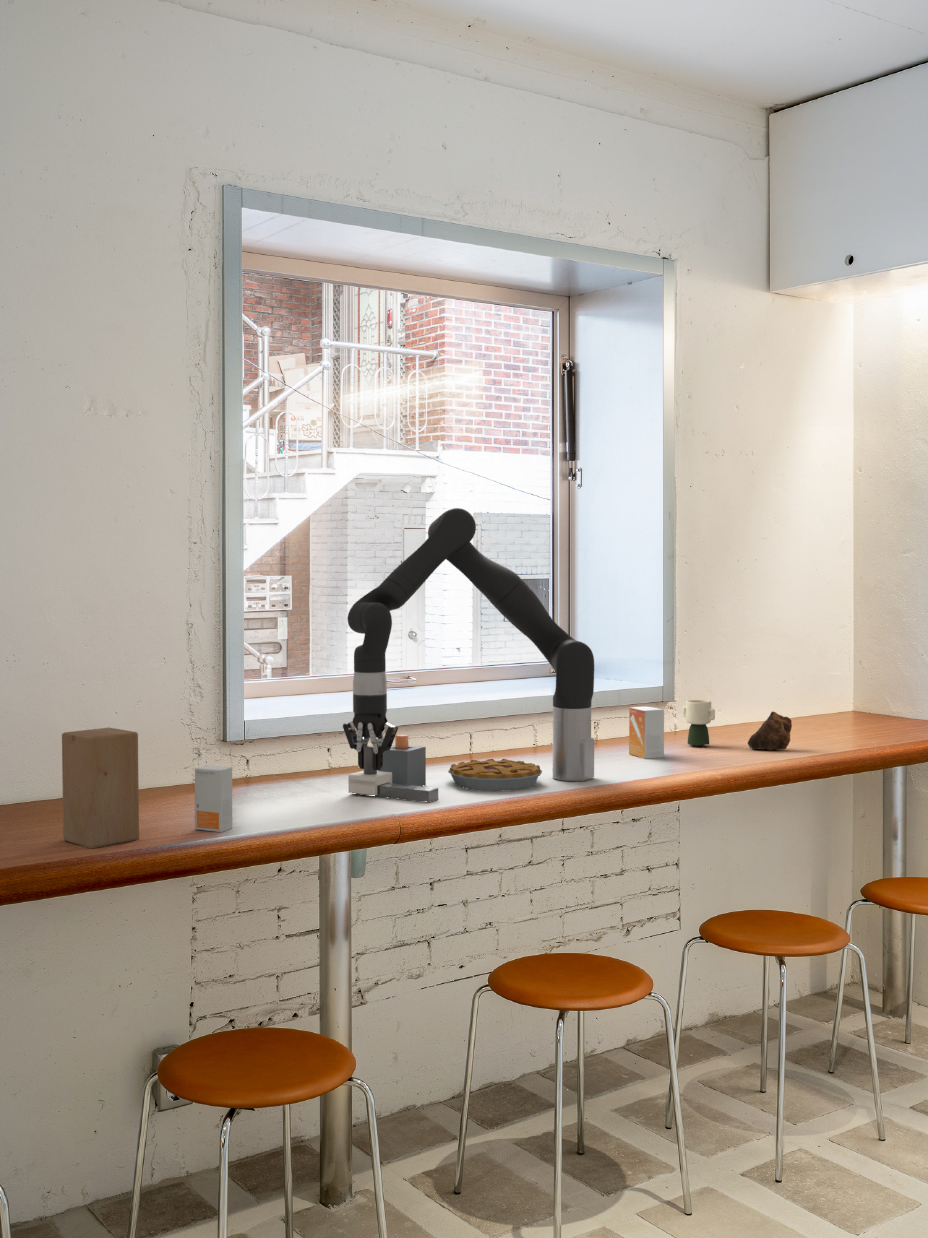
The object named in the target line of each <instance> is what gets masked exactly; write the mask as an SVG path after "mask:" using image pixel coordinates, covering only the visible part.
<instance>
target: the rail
mask: <svg viewBox="0 0 928 1238" xmlns="http://www.w3.org/2000/svg"><path fill="white" fill-rule="evenodd" d="M357 794H358V793H356V794H355V795H357ZM366 795H367V794H362V795H361V796H366ZM375 796H379V797H378V798H384V797H388V798H387V799H392V798H399V799H398V800H401V799H406V800H405V801H410V800H415V801H414V802H419V801H427V802H426V803H428V802H429V803H431V802H430V801H432V802H434V801H433V800H435V801H437V799H438V800H439V787H432V786H415V785H405V784H395V783H384V784H381V785H378V786H377V795H375ZM375 796H374V797H375Z"/></svg>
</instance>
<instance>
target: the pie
mask: <svg viewBox="0 0 928 1238" xmlns="http://www.w3.org/2000/svg"><path fill="white" fill-rule="evenodd" d="M447 772H448V774H450V775H451V778H452V779H453V782H454V784H455V785H457V786H458V787H459V786H460V788H463V787H464V788H463V789H466V788H468V789H467V790H471V789H473V791H478V790H483V791H482V792H503V791H502V790H510V791H518V790H524V789H525V790H526V789H529V788H533V787H535V786H536V784H537V780H538V778H539V776H541V774H542V773H543V770H542V769H541V766H540V765H538V764H537V765H536V764H535V763H532V762H528V763H527V762H525V761H523V760H517V761H515V760H512V759H506V758H503V759H501V760H495V759H493V758H490V759H486V760H478V759H477V760H476V759H471V760H469V761H467V762H465V761H461V762H458V763H457V764H455V763H454V764H451V765H450V767H449V770H448V771H447Z"/></svg>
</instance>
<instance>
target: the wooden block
mask: <svg viewBox="0 0 928 1238" xmlns="http://www.w3.org/2000/svg"><path fill="white" fill-rule="evenodd" d="M138 733H139V732H137V731H131V730H127V729H126V730H125V729H120V728H113V727H102V728H93V729H84V730H74V731H65V732H62V734H61V757H62V758H61V765H62V769H61V772H62V777H61V779H62V830H63V831H62V834H63V835H62V836H63V837H62V838H63V841H66V842H69V843H72V844H75V845H79V846H81V847H86V848H88V849H97V848H101V847H108V846H111V845H116V844H117V845H118V844H122V843H129V842H131V841H137V840H139V839H140V808H139V807H140V804H139V801H140V799H139V797H140V795H139V792H140V791H139V734H138Z"/></svg>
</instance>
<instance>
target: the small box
mask: <svg viewBox="0 0 928 1238" xmlns="http://www.w3.org/2000/svg"><path fill="white" fill-rule="evenodd" d="M628 708H629V713H628V714H629V715H628V716H629V717H628V718H629V723H628V725H629V727H628V729H629V730H628V732H629V733H628V738H629V739H628V754H629V755H632V756H634V757H635V756H636V757H638V758H641V759H645V760H646V759H659V758H660V759H661V758H664V757H665V709H661V708H657V707H652V706H647V705H646V706H632V707H631V706H630V707H628Z"/></svg>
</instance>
